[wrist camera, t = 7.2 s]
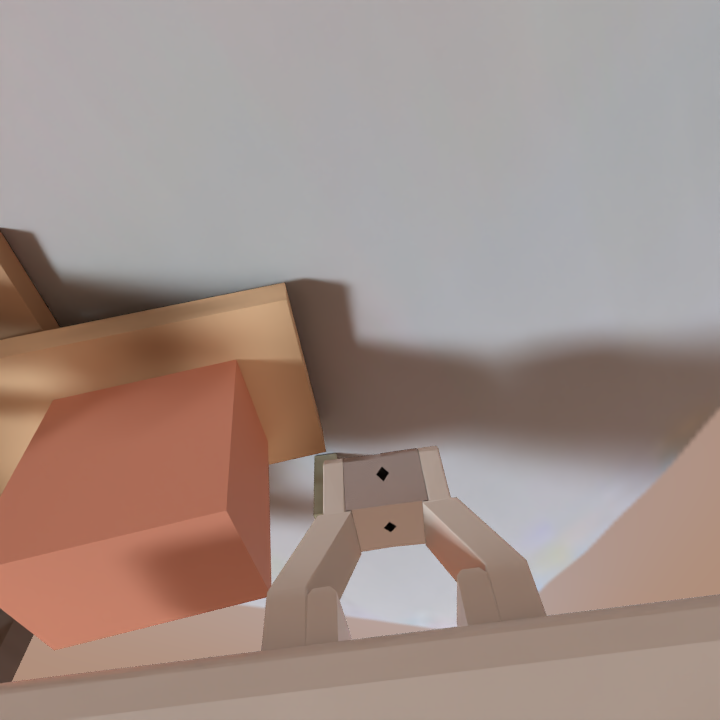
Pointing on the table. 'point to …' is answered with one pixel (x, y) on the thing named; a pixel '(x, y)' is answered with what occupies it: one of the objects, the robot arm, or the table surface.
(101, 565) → the salmon red rectangular block
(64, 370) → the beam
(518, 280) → the table surface
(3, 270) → the stand
